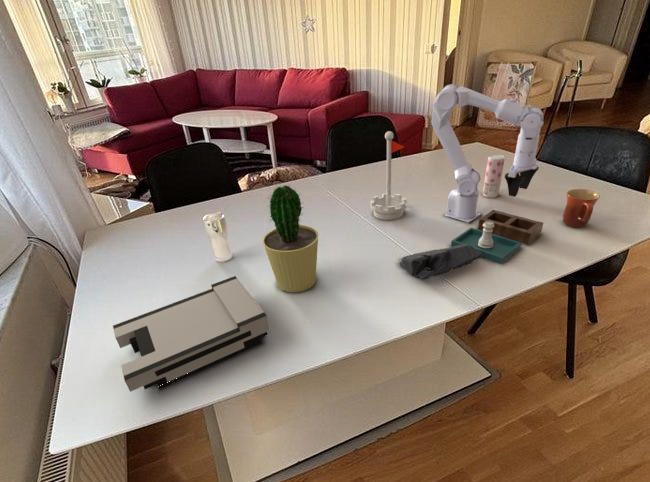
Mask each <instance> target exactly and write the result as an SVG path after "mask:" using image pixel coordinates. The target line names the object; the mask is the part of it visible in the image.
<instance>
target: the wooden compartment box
mask: <svg viewBox="0 0 650 482" xmlns="http://www.w3.org/2000/svg"><path fill="white" fill-rule="evenodd" d="M486 221H488V222H489V221H491V222H493V223H494V227H493V228H492V229H493V231H492V234H494V235H497V236H501V237H504V238H507V239H511V240H514V241H517V242H521V244H523V245H527V246H529V245H530V244H531V243H532V242H534V240H536V239H537V238H538V237H539V236H540V235H542V230H543V227H544V222H542V221H538V220H534V219H532V218H531V219H530V218H527V217H523V216H519V215H515V214H512V213H507V212H504V211H500V210H496V209H492V210H490V211H489V212H487V213H486V214H484V215H483V216H482V217H480V218H479V219H478V225H477V229H478V230H481V231H483V229H484V226H483V224H484V223H485V222H486Z"/></svg>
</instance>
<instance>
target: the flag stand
mask: <svg viewBox="0 0 650 482" xmlns="http://www.w3.org/2000/svg"><path fill="white" fill-rule="evenodd" d="M394 136H395V135H394V133H393V131H391V130H390V131H389V130H387V131H386V132H385V134H384V138H385V140H386V192H384V193H382V195H381V196H379V195H377V194H376V195H374V196H373V197H372V199H371V200H370V208H371V209H372V211H373V216H374V217H375V218H377V219H379V220H385V221H389V220H390V221H391V220H397V219H399V218H401V217H402V216H403V215H404V210H405V209H406V208H407V204H408V203H407V202H408V201H407V200H408V199H407V197H405V196H404V197H403V196H402V194H400V193H394V195H392V154H393V153H395V152H397V151H399V150H401V149H404V148H405V146H403V145H401V144H399V143H398V142H396V141H394V140H393V139H394Z"/></svg>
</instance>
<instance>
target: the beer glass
mask: <svg viewBox="0 0 650 482" xmlns="http://www.w3.org/2000/svg"><path fill="white" fill-rule="evenodd" d="M202 220H203V225H204V229H205V233H206V235H207V238H208V240H209V242H210V245H211V246H212V249H213V253H214V260H215V261H216V262H218V263H225V262H228V261H230V260H231V259H232V258H233V257H234V254H233V251H232V249H231V245H230V232H229V227H228V223H227V219H226V217H225V214H224V213H223V212H220V211H219V212H218V211H217V212H212V213H208V214H206V215H204V217H203V218H202ZM231 253H232V255H231V256H230V257H228V258H226V259H216V258H215V256H216V257H218V258H223V257H227V256H229V255H230V254H231Z"/></svg>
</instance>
